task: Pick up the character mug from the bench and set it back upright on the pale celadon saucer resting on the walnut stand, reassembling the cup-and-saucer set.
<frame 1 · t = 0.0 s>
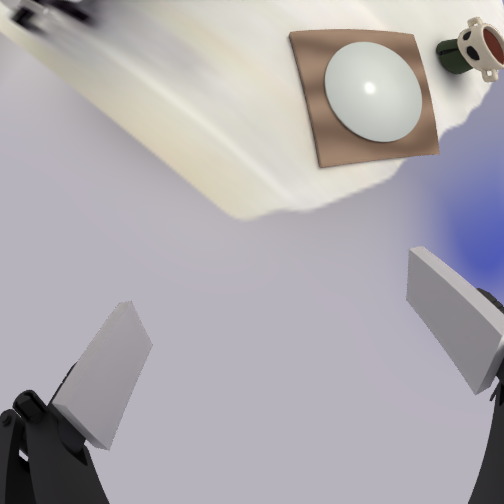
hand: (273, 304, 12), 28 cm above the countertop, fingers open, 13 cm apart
stand: (371, 92, 32), on the countertop
character mug: (448, 58, 28), on the countertop
saucer: (376, 90, 30), on the stand, point 2 cm above the countertop
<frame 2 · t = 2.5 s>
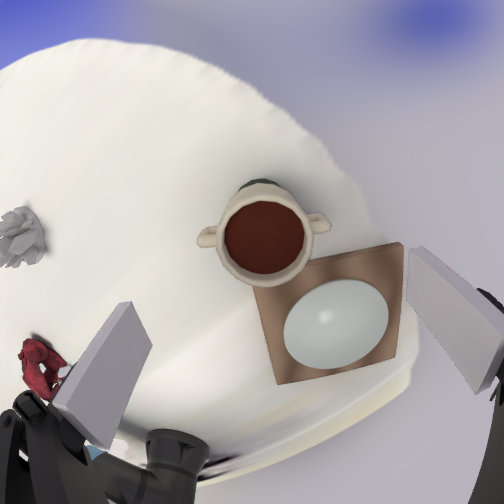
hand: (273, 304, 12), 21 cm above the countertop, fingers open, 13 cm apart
stand: (334, 320, 37), on the countertop
character mug: (261, 204, 32), on the countertop
crystal: (25, 235, 33), on the countertop
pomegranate: (51, 360, 44), on the countertop
saucer: (337, 328, 36), on the stand, point 2 cm above the countertop
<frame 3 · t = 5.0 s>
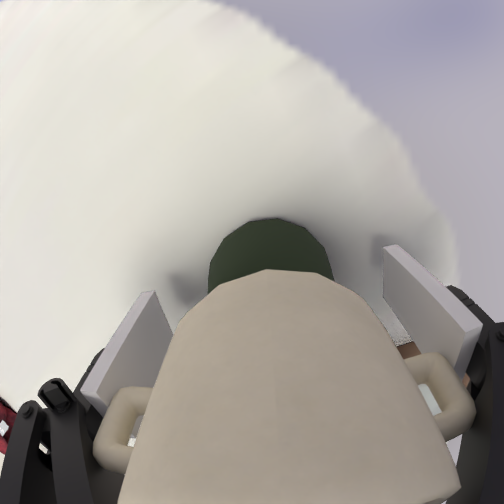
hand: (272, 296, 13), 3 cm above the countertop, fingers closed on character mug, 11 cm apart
stand: (373, 420, 21), on the countertop
character mug: (269, 270, 15), on the countertop, touching gripper
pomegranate: (14, 416, 27), on the countertop
saucer: (378, 436, 19), on the stand, point 2 cm above the countertop
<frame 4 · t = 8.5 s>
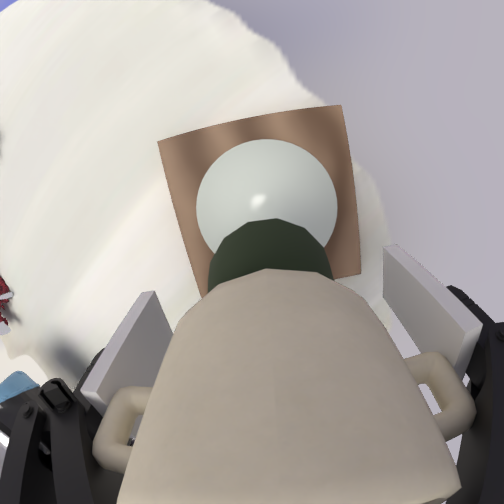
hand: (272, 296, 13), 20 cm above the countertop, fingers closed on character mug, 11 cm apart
stand: (266, 206, 31), on the countertop
character mug: (269, 270, 15), point 17 cm above the countertop, touching gripper
saucer: (267, 210, 29), on the stand, point 2 cm above the countertop
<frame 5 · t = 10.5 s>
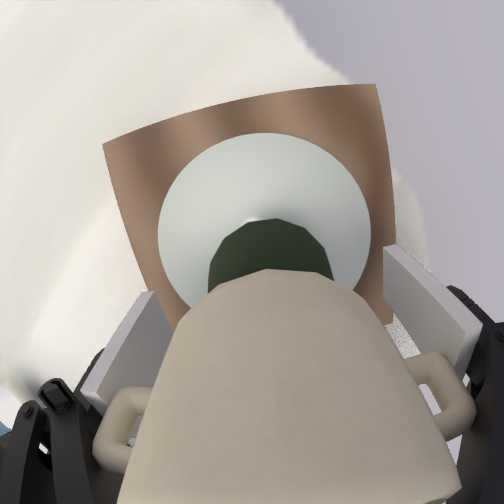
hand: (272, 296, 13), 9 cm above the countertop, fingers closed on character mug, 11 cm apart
stand: (264, 235, 21), on the countertop
character mug: (269, 270, 15), point 6 cm above the countertop, touching gripper
saucer: (265, 244, 19), on the stand, point 2 cm above the countertop
when the fingers open (6 cm above the countertop, at t = 12.2 s): character mug stays where it is, resting on saucer.
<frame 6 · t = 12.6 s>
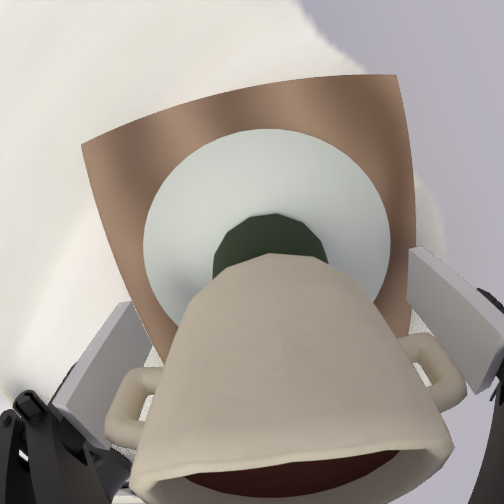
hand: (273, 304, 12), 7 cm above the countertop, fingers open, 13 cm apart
stand: (267, 248, 18), on the countertop
character mug: (269, 263, 16), point 2 cm above the countertop, touching saucer
saucer: (268, 261, 16), on the stand, point 1 cm above the countertop
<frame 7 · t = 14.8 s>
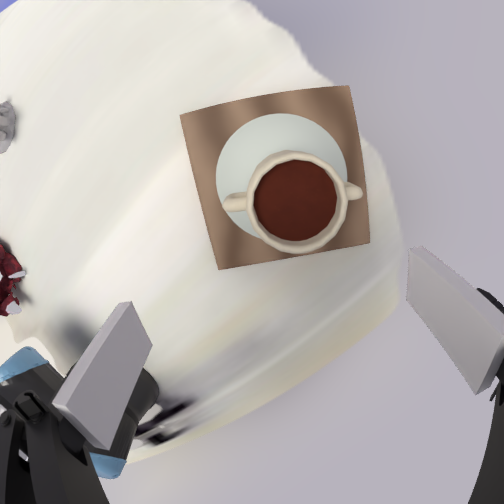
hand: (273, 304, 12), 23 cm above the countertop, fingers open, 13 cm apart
stand: (281, 176, 32), on the countertop
character mug: (282, 179, 30), point 2 cm above the countertop, touching saucer
crystal: (0, 128, 29), on the countertop
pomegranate: (10, 270, 40), on the countertop
saucer: (282, 178, 31), on the stand, point 1 cm above the countertop
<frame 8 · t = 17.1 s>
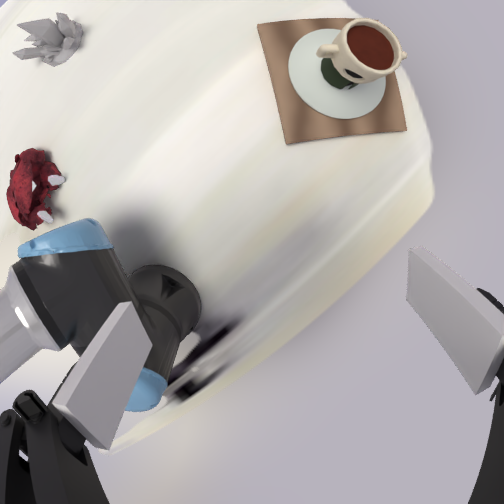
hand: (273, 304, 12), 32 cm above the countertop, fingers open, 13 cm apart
stand: (335, 74, 34), on the countertop
character mug: (339, 71, 32), point 2 cm above the countertop, touching saucer
crystal: (61, 44, 30), on the countertop
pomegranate: (44, 184, 41), on the countertop
saucer: (338, 71, 32), on the stand, point 2 cm above the countertop
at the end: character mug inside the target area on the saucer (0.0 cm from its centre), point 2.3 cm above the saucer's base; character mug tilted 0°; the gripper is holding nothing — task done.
